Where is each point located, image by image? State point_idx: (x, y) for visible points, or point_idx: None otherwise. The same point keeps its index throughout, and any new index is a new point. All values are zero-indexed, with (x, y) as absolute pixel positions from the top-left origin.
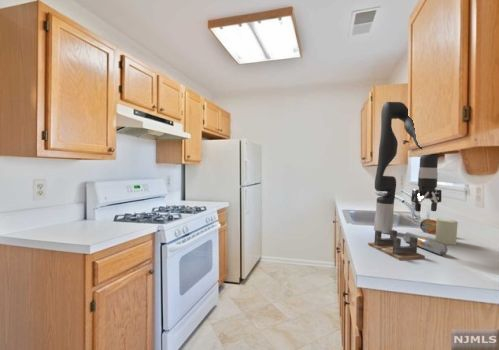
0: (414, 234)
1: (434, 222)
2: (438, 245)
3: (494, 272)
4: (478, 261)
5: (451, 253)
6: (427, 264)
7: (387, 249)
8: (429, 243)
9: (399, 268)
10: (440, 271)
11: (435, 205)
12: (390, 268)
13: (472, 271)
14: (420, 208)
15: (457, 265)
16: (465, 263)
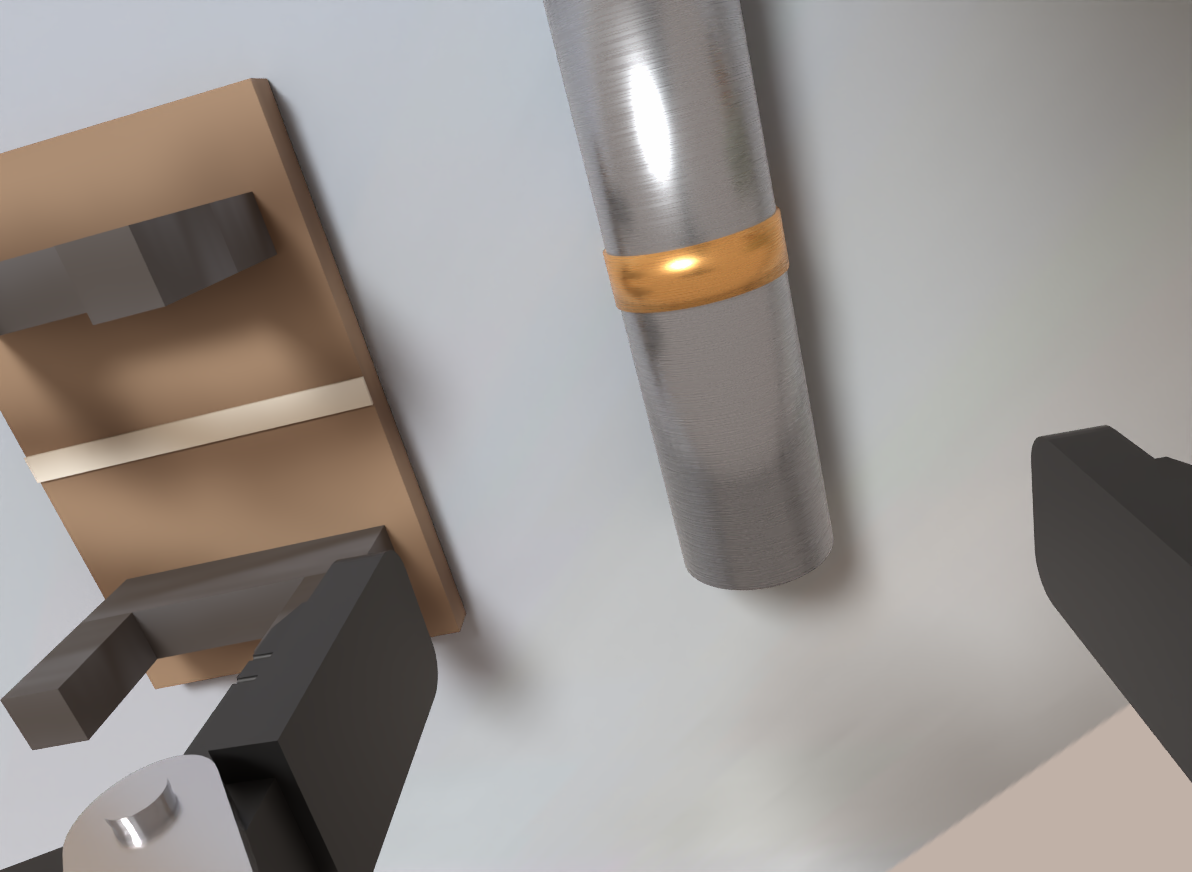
0: (666, 17)
1: None
2: (706, 565)
3: (907, 857)
4: (1035, 641)
5: (948, 415)
6: None
7: (97, 469)
8: (665, 441)
9: None
10: (434, 861)
11: (1186, 748)
12: (45, 832)
13: (720, 849)
14: (405, 755)
15: (691, 748)
16: (823, 700)
